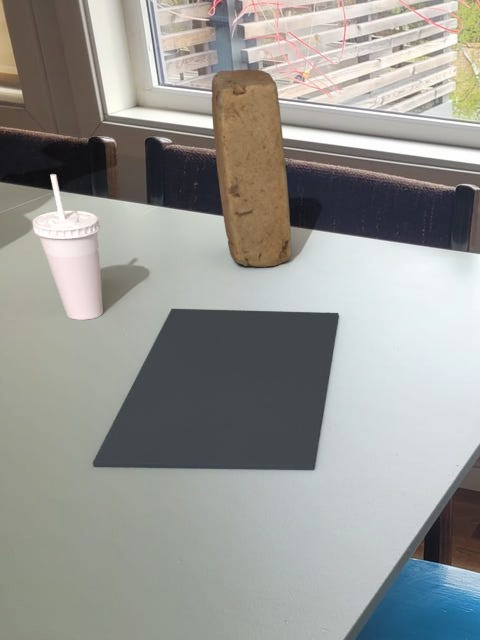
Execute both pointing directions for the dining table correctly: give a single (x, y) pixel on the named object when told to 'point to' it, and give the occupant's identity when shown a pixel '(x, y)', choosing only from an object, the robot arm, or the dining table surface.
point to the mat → (227, 393)
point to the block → (251, 167)
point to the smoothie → (72, 257)
